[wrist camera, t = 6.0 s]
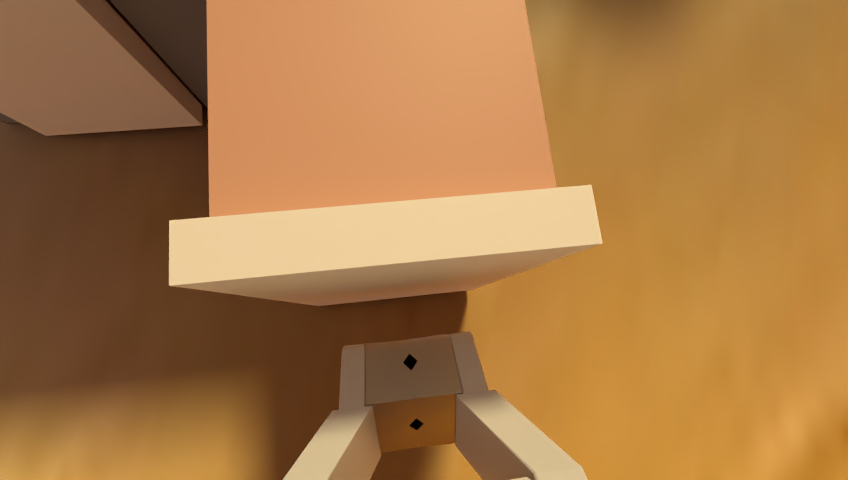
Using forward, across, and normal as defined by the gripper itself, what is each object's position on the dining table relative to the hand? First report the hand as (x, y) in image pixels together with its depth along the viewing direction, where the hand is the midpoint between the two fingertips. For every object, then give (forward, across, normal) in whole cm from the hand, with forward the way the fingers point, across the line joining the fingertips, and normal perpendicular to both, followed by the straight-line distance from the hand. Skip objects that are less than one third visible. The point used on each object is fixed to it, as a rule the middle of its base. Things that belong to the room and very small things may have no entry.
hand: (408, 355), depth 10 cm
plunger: (+9, 0, -2) cm, 9 cm away
